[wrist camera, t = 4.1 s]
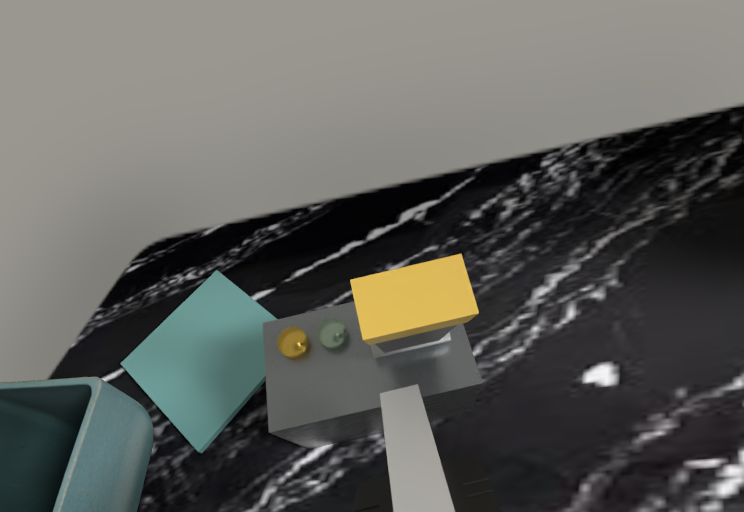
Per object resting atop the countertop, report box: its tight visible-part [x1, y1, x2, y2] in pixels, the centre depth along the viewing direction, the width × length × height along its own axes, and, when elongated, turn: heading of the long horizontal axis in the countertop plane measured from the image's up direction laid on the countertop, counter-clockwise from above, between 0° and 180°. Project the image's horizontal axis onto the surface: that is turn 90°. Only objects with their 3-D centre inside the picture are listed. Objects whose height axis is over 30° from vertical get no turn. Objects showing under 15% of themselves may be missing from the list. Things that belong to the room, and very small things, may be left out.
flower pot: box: [0, 377, 153, 512], centre depth 25 cm, size 9×9×9 cm
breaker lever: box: [350, 254, 479, 358], centre depth 16 cm, size 2×4×12 cm, turn 101°
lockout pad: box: [120, 270, 278, 453], centre depth 32 cm, size 10×10×1 cm
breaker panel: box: [263, 301, 482, 449], centre depth 25 cm, size 6×11×9 cm, turn 101°
